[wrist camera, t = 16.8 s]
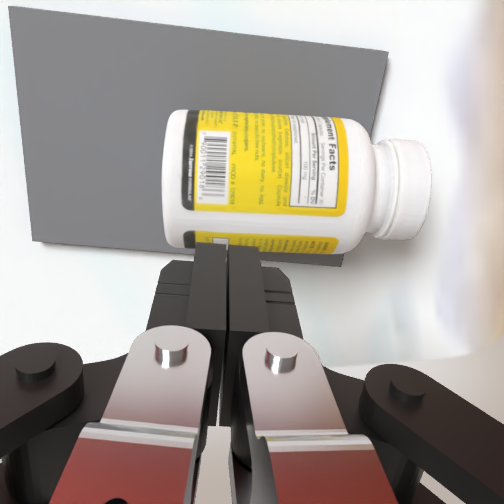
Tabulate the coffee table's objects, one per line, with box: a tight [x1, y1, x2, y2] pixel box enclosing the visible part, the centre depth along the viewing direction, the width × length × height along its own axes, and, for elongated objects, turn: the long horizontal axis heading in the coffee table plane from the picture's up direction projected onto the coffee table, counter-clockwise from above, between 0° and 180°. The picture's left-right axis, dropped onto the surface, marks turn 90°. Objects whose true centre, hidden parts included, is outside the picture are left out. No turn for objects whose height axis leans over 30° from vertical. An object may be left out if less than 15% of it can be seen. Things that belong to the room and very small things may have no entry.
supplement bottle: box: [162, 110, 432, 254], centre depth 19 cm, size 5×5×10 cm
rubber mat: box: [8, 6, 389, 267], centre depth 21 cm, size 15×10×1 cm, turn 84°
